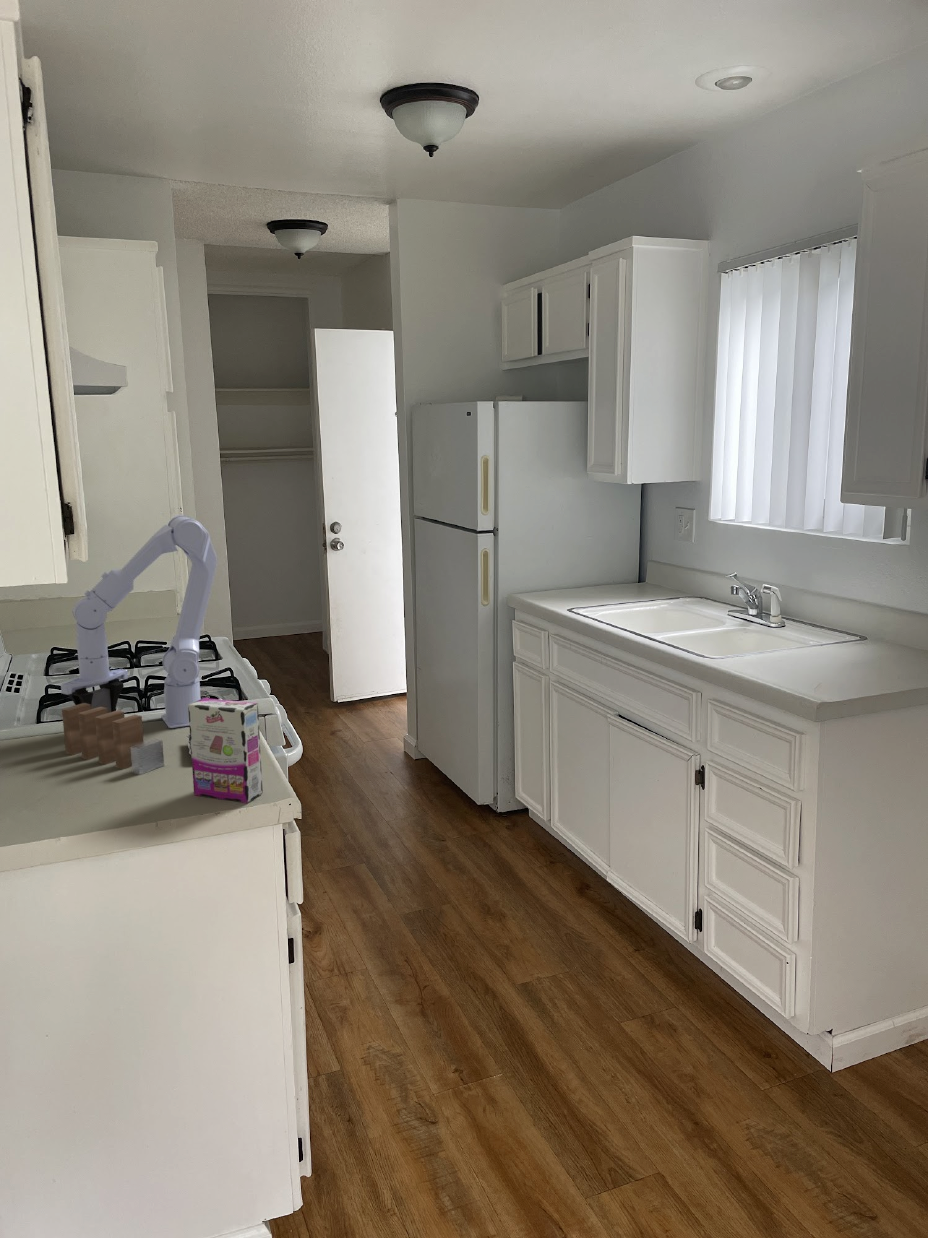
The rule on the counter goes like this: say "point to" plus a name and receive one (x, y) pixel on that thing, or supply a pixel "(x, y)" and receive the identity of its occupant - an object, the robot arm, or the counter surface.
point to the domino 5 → (126, 739)
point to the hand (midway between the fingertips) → (98, 719)
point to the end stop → (147, 756)
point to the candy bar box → (225, 749)
